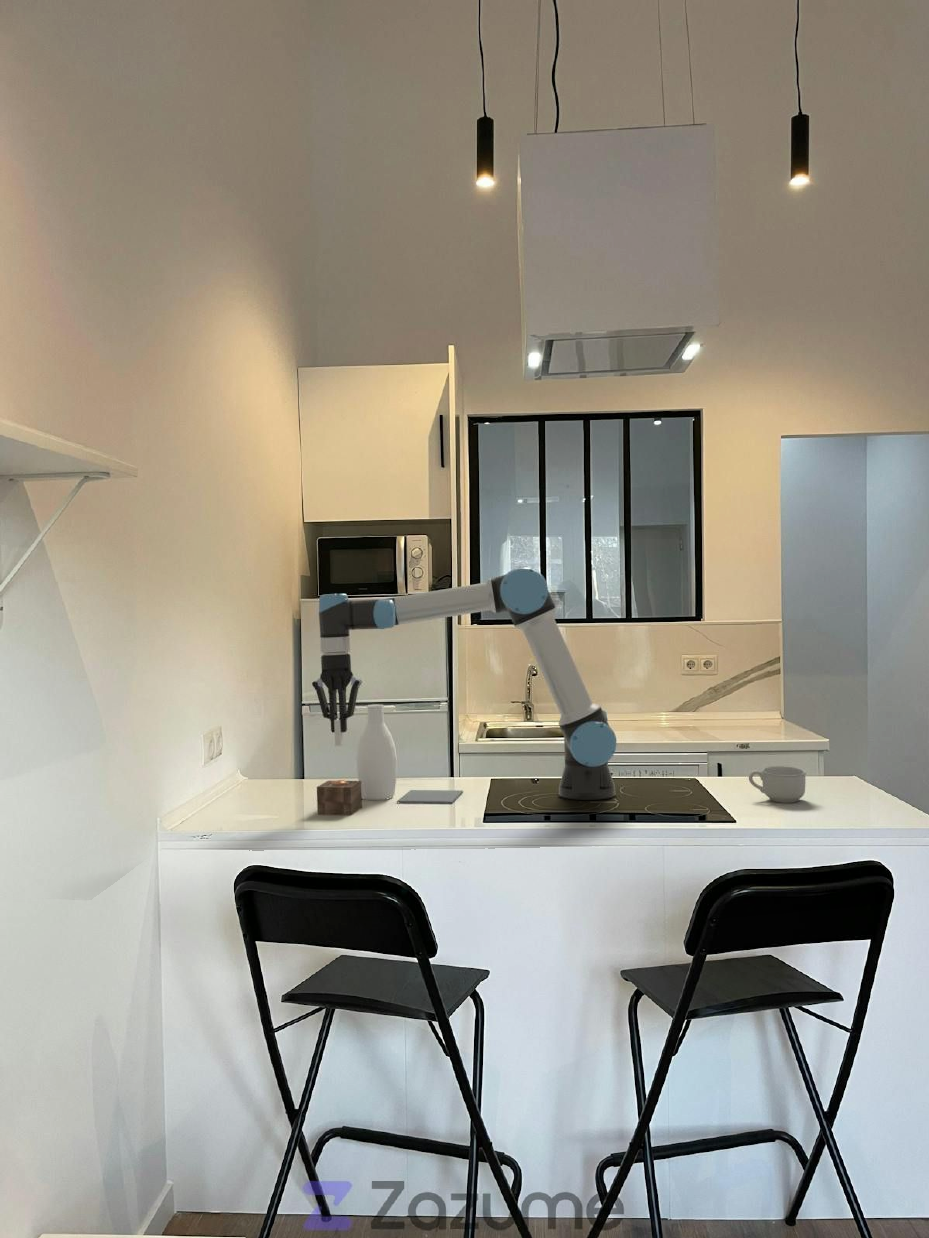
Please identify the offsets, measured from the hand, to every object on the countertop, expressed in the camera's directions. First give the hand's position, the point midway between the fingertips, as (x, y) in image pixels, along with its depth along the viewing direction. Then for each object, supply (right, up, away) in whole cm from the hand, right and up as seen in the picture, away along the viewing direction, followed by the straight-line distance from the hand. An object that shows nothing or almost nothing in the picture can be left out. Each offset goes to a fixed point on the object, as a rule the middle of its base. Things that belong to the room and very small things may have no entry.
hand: (339, 744), depth 247 cm
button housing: (0, -17, 0) cm, 17 cm away
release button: (0, -15, 0) cm, 15 cm away
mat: (+23, -16, +14) cm, 32 cm away
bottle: (+8, -17, +17) cm, 25 cm away
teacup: (+113, -14, -1) cm, 114 cm away
